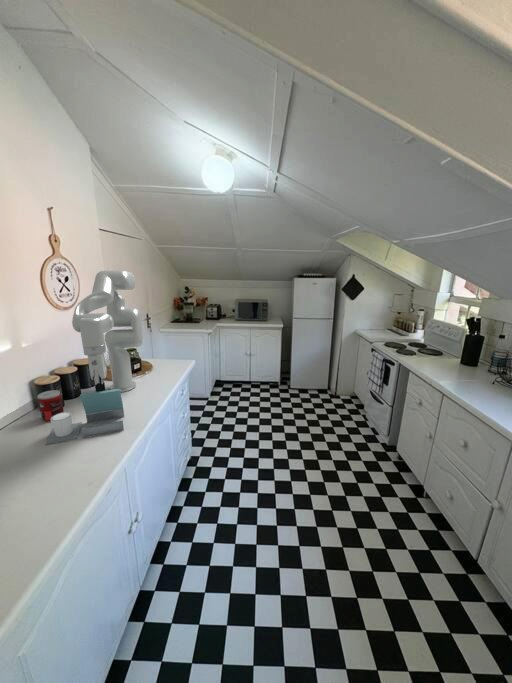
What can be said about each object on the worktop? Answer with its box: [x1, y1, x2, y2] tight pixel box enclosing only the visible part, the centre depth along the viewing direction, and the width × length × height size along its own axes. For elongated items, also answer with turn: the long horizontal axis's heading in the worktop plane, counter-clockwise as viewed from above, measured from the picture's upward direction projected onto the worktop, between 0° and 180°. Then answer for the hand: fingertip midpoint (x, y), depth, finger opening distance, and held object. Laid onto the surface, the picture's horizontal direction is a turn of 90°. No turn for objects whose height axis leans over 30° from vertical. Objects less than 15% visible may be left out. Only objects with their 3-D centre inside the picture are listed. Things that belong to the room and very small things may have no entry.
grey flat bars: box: [81, 407, 125, 439], centre depth 116 cm, size 12×14×4 cm
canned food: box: [37, 389, 65, 422], centre depth 121 cm, size 8×8×11 cm
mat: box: [45, 421, 83, 446], centre depth 111 cm, size 12×10×1 cm
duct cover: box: [79, 389, 124, 415], centre depth 117 cm, size 12×14×1 cm
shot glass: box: [50, 411, 73, 436], centre depth 110 cm, size 7×7×7 cm
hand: (101, 392), depth 115 cm, fingers closed
